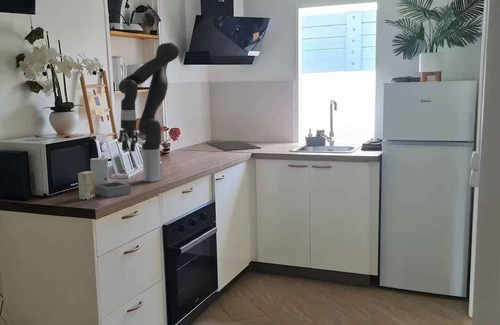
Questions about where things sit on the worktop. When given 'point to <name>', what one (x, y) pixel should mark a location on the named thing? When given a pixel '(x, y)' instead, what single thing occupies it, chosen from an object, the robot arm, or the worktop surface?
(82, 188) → the skincare box
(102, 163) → the skincare box
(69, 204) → the worktop surface
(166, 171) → the worktop surface
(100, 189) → the tray
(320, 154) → the worktop surface
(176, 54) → the robot arm
